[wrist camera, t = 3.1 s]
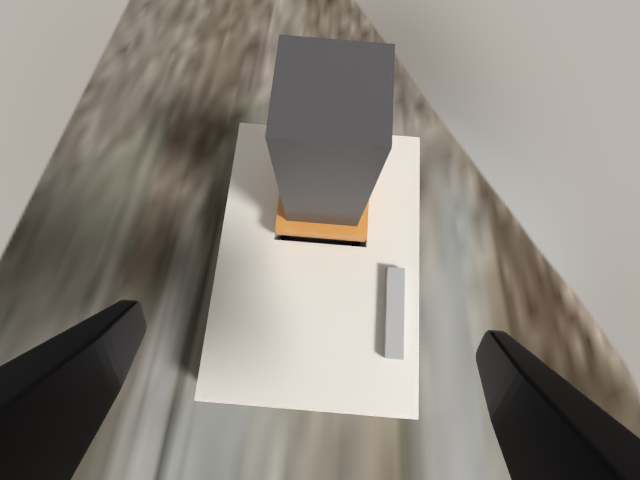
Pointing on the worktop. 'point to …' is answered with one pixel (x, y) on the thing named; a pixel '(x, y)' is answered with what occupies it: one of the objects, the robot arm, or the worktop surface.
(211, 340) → the socket block
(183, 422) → the worktop surface
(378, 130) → the plug
